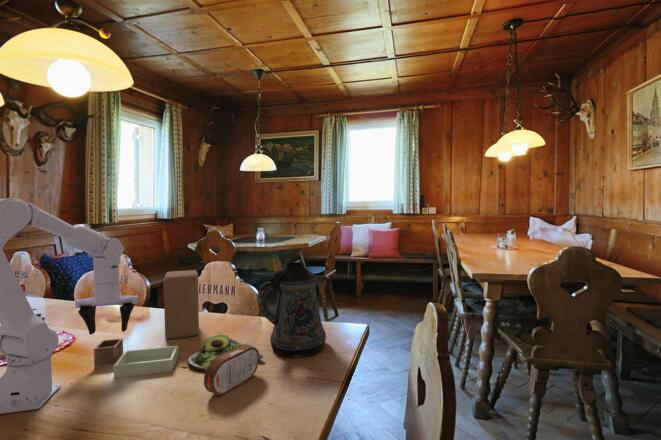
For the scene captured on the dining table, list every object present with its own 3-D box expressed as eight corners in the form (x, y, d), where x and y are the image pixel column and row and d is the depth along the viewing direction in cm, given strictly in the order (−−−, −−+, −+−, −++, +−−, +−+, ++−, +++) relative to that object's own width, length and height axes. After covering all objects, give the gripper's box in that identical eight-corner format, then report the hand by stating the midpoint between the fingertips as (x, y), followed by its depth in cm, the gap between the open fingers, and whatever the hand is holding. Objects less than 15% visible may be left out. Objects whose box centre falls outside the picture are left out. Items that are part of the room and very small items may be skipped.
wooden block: (199, 336, 112) (197, 274, 111) (164, 340, 108) (163, 277, 107) (198, 326, 121) (197, 269, 120) (167, 330, 117) (165, 271, 116)
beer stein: (336, 343, 105) (336, 262, 104) (296, 369, 89) (295, 272, 88) (294, 332, 114) (293, 257, 113) (250, 353, 98) (249, 266, 97)
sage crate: (172, 371, 88) (172, 359, 88) (114, 377, 85) (113, 365, 85) (178, 355, 97) (178, 345, 97) (125, 361, 94) (125, 350, 93)
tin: (252, 371, 88) (251, 338, 88) (261, 374, 87) (261, 341, 86) (203, 399, 75) (202, 361, 75) (212, 403, 74) (212, 365, 73)
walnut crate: (116, 365, 92) (115, 346, 91) (94, 367, 90) (93, 349, 90) (123, 355, 97) (122, 338, 97) (103, 357, 96) (102, 340, 96)
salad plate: (276, 351, 101) (276, 335, 101) (243, 381, 84) (242, 362, 84) (220, 343, 107) (220, 328, 107) (178, 369, 90) (177, 351, 90)
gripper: (140, 277, 99) (142, 324, 99) (82, 280, 95) (84, 329, 96) (133, 282, 92) (135, 333, 92) (70, 286, 88) (72, 338, 89)
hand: (108, 331), depth 94 cm, fingers open, 7 cm apart
